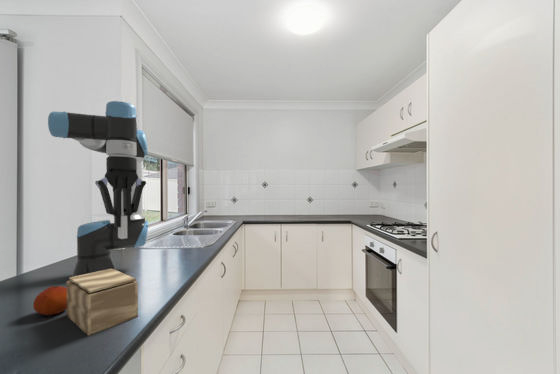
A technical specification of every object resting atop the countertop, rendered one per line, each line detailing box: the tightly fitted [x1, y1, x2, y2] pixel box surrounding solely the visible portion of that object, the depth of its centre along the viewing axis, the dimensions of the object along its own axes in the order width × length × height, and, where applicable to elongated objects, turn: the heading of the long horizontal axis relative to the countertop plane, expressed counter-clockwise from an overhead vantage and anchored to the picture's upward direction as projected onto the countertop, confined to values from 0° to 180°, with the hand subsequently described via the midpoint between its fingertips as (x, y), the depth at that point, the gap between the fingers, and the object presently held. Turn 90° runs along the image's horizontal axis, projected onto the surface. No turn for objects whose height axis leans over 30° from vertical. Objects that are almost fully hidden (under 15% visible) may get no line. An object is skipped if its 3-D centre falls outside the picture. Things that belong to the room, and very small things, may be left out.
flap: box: [68, 269, 137, 293], centre depth 76 cm, size 17×11×1 cm, turn 53°
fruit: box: [33, 285, 67, 316], centre depth 79 cm, size 9×9×8 cm
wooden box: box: [66, 280, 139, 337], centre depth 76 cm, size 18×12×10 cm, turn 53°
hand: (122, 237), depth 76 cm, fingers closed
